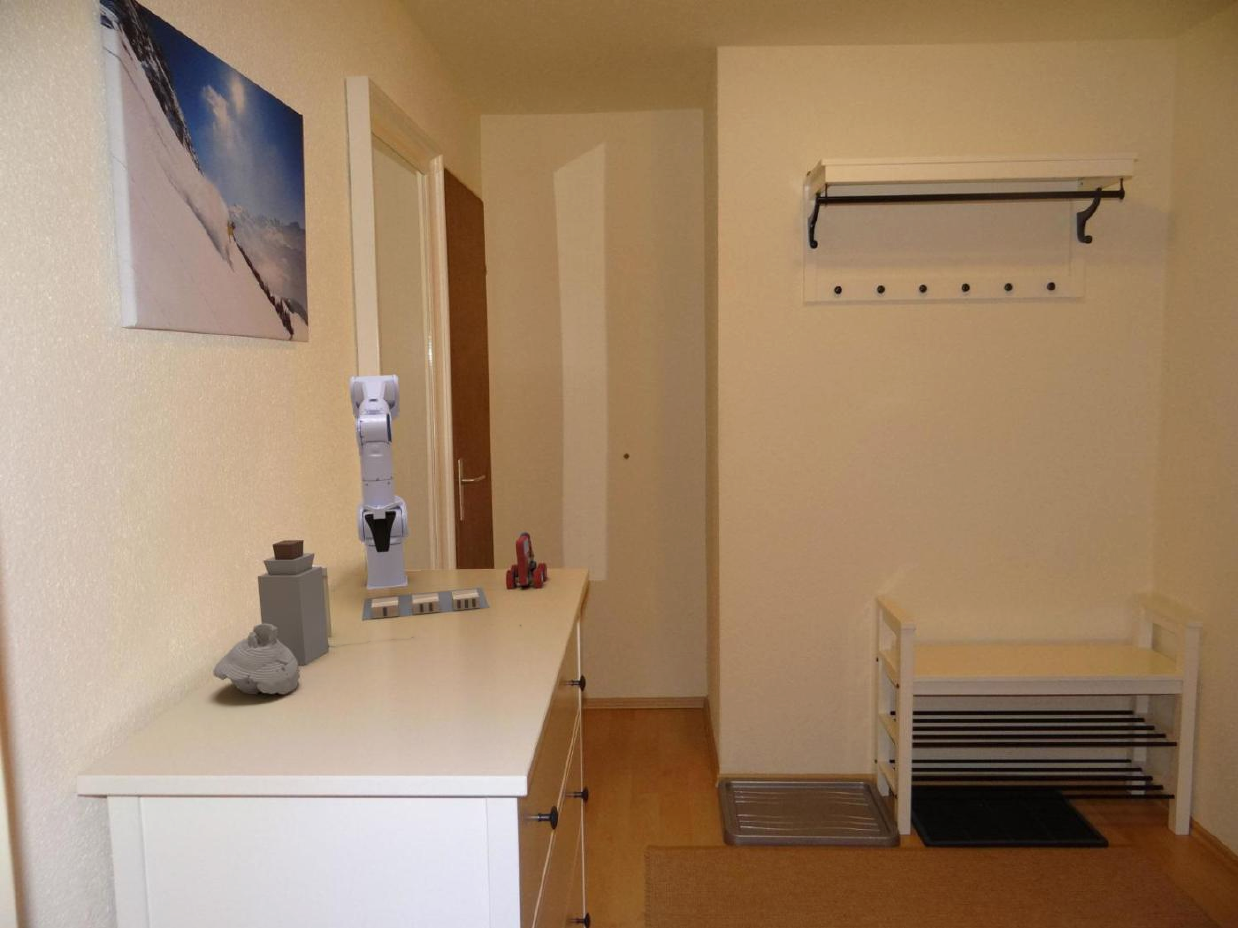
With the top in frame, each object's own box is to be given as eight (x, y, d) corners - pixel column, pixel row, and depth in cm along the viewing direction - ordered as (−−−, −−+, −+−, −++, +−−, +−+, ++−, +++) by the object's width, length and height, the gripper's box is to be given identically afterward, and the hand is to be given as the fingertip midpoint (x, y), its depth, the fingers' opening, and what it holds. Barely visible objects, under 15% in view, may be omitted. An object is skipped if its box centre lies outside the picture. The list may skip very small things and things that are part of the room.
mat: (365, 601, 174) (364, 598, 174) (481, 590, 179) (481, 587, 179) (361, 623, 159) (361, 620, 159) (489, 610, 164) (489, 607, 164)
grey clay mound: (320, 699, 130) (328, 632, 127) (245, 728, 120) (252, 656, 117) (268, 663, 136) (275, 598, 133) (193, 688, 126) (199, 619, 124)
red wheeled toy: (549, 578, 187) (546, 528, 186) (540, 593, 175) (537, 540, 174) (515, 579, 188) (512, 529, 186) (504, 594, 175) (501, 541, 174)
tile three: (451, 591, 168) (453, 599, 162) (476, 589, 169) (479, 596, 163) (452, 602, 168) (454, 611, 162) (476, 600, 169) (479, 608, 163)
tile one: (372, 599, 165) (371, 607, 159) (398, 596, 166) (398, 604, 160) (373, 610, 165) (372, 619, 159) (398, 608, 166) (398, 616, 160)
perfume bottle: (305, 665, 137) (296, 546, 135) (265, 664, 139) (255, 546, 137) (328, 651, 144) (319, 537, 142) (289, 650, 145) (280, 538, 143)
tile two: (412, 595, 166) (412, 603, 160) (437, 592, 167) (438, 600, 161) (412, 606, 166) (413, 615, 160) (438, 604, 167) (439, 612, 161)
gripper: (400, 482, 164) (405, 556, 165) (400, 473, 178) (404, 542, 179) (359, 484, 162) (364, 560, 163) (362, 476, 176) (367, 545, 177)
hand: (383, 551), depth 171 cm, fingers closed
